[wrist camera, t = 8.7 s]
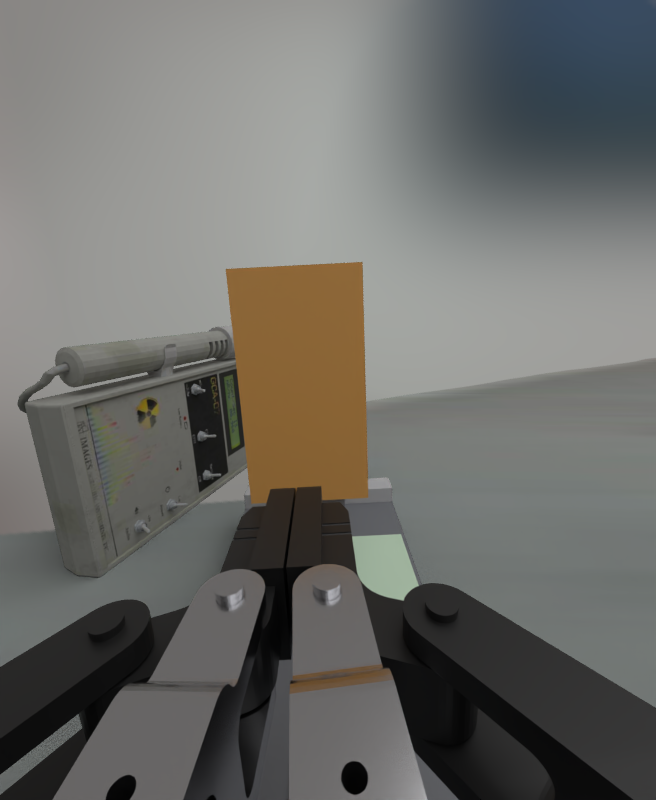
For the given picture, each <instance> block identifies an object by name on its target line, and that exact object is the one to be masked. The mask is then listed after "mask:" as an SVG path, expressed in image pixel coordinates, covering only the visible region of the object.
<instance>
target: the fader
mask: <svg viewBox="0 0 656 800" xmlns="http://www.w3.org/2000/svg"><path fill="white" fill-rule="evenodd" d="M226 275H227V284H228V294H229V303H230V312H231V321H232V331H233V340H234V349H235V358H236V367H237V376H238V386H239V395H240V404H241V413H242V422H243V432H244V441H245V450H246V459H247V468H248V477H249V487H250V496H251V504H257V503H267V499H268V496H269V492H270V489H278V488H296V491H297V487H313V486H321V488H322V503H328V502H341V504H342V505H343V506H344V507H345V499H357V498H368V464H367V425H366V387H365V386H366V385H365V347H364V309H363V268H362V262H356V263H335V264H318V265H317V264H316V265H297V266H277V267H257V268H237V269H226Z"/></svg>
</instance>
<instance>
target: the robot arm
mask: <svg viewBox="0 0 656 800" xmlns="http://www.w3.org/2000/svg"><path fill="white" fill-rule="evenodd" d="M233 539H234V540H233V541H232V543H231V546H230V549H229V551H228V554H227V557H226V559H225V562H224V564H223V567H222V570H221V572H220V574H217V575H215V576H213V577H212V578H210V579H209V580H207V581H206V582H205V583H204V584H203V585H202V586H201V587H200V588H199V590H198V591H197V593H196V595H195V597H194V598H193V600H192V602H191V604H190V605H189V606H187V607H185V608H182V609H179V610H176V611H173V612H170V613H167V614H163V615H160V616H157V617H153V618H151V617H150V611H149V609H148V607H147V606H146V604H144V603H143V602H141V601H138V600H121V601H116V602H112V603H109V604H107V605H104V606H102V607H100V608H98V609H96V610H94V611H92V612H91V613H89V614H87V615H86V616H84V617H82V618H81V619H79V620H77V621H76V622H74V623H72V624H71V625H69V626H67V627H66V628H64V629H62V630H61V631H59V632H57V633H56V634H54V635H52V636H51V637H49V638H48V639H46V640H44V641H43V642H41V643H39V644H38V645H36V646H34V647H33V648H31V649H29V650H28V651H26V652H24V653H23V654H21V655H19V656H18V657H16V658H14V659H13V660H11V661H9V662H8V663H6V664H4V665H3V666H1V667H0V774H2V773H3V772H4V771H5V770H7V769H8V768H9V767H10V766H12V765H13V764H14V763H16V762H17V761H18V760H19V759H21V758H22V757H23V756H25V755H26V754H27V753H28V752H30V751H31V750H32V749H34V748H35V747H36V746H37V745H39V744H40V743H41V742H43V741H44V740H45V739H46V738H48V737H49V736H50V735H52V734H53V733H54V732H55V731H57V730H58V729H59V728H61V727H62V726H63V725H64V724H66V723H67V722H68V721H70V720H71V719H72V718H73V717H75V716H76V715H77V714H79V717H80V721H81V724H82V729H81V730H80V731H78V732H77V733H76V734H75V735H74V736H72V737H71V738H70V739H69V740H67V741H66V742H65V743H64V744H62V745H61V746H60V747H59V748H58V749H56V750H55V751H54V752H53V753H51V754H50V755H49V756H48V757H46V758H45V759H44V760H43V761H42V762H40V763H39V764H38V765H37V766H35V767H34V768H33V769H32V770H30V771H29V772H28V773H27V774H26V775H24V776H23V777H22V778H21V779H19V780H18V781H17V782H16V783H14V784H13V785H12V786H11V787H10V788H8V789H7V790H6V791H5V792H3V793H2V794H1V795H0V800H258V794H259V789H260V783H261V778H262V773H263V767H264V762H265V757H266V751H267V746H268V740H269V735H270V730H271V724H272V719H273V714H274V708H275V703H276V685H275V684H276V681H277V675H278V666H279V660H291V658H292V646H293V680H291V681H290V701H289V800H427V796H426V793H425V789H424V786H423V782H422V779H421V775H420V771H419V768H418V764H417V761H416V757H415V753H416V754H417V755H418V756H419V757H420V758H421V759H422V760H423V761H424V763H425V764H426V765H427V766H428V767H429V768H430V769H431V770H432V771H433V772H434V773H435V774H436V776H437V777H438V778H439V779H440V780H441V781H442V782H443V783H444V784H445V785H446V786H447V788H448V789H449V790H450V791H451V792H452V793H453V794H454V795H455V796H456V797H457V798H458V799H459V800H656V708H655V707H653V706H652V705H650V704H648V703H647V702H645V701H643V700H642V699H640V698H638V697H637V696H635V695H633V694H632V693H630V692H628V691H627V690H625V689H623V688H622V687H620V686H618V685H617V684H615V683H613V682H612V681H610V680H608V679H607V678H605V677H604V676H602V675H600V674H599V673H597V672H595V671H594V670H592V669H590V668H589V667H587V666H585V665H584V664H582V663H580V662H579V661H577V660H575V659H574V658H572V657H570V656H569V655H567V654H565V653H564V652H562V651H560V650H559V649H557V648H555V647H554V646H552V645H550V644H549V643H547V642H545V641H544V640H542V639H540V638H539V637H537V636H535V635H534V634H532V633H530V632H529V631H527V630H526V629H524V628H522V627H521V626H519V625H517V624H516V623H514V622H512V621H511V620H509V619H507V618H506V617H504V616H502V615H501V614H499V613H497V612H496V611H494V610H492V609H491V608H489V607H487V606H486V605H484V604H482V603H481V602H479V601H477V600H476V599H474V598H472V597H471V596H469V595H467V594H466V593H464V592H462V591H460V590H459V589H457V588H454V587H452V586H448V585H444V584H438V583H430V584H423V585H419V586H417V587H415V588H413V589H412V590H410V591H409V592H408V593H407V595H406V596H405V598H404V601H403V600H398V599H393V598H389V597H385V596H382V595H379V594H377V593H375V592H373V591H371V590H370V589H369V588H367V587H366V586H365V585H364V584H363V583H362V582H361V580H360V578H359V576H358V573H357V568H356V561H355V554H354V547H353V540H352V534H351V526H350V519H349V511H348V510H347V509H346V508H345V507H344V506H343V505H342V504H341V502H328V503H322V488H321V486H313V487H297V491H296V488H278V489H270V492H269V496H268V499H267V503H266V506H258V507H252V508H251V509H250V510H249V511H248V512H246V513H245V514H244V515H243V516H242V517H241V520H240V523H239V525H238V528H237V531H236V533H235V536H234V538H233ZM414 751H415V753H414Z"/></svg>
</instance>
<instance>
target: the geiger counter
mask: <svg viewBox="0 0 656 800" xmlns="http://www.w3.org/2000/svg"><path fill="white" fill-rule="evenodd" d="M209 358H216V360H212V361H208V362H203V363H199V364H194V365H189V366H185V367H180V368H176V369H173V367H174V366H177V365H181V364H186V363H191V362H195V361H200V360H204V359H209ZM55 364H56V366H55V367H53V368H51V369H50V370H48V371H47V372H45V373H44V374H43V376H42V378H41V379H40V381H39V382H37V383H36V384H35V385H33V386H32V387H30V388H28V389H26V390H25V391H24V392H23V393H22V394H21V395H20V397H19V400H18V407H19V409H20V410H21V411H23V412H25V413H27V417H28V420H29V424H30V428H31V432H32V437H33V441H34V445H35V448H36V453H37V457H38V461H39V465H40V469H41V473H42V477H43V481H44V485H45V489H46V493H47V497H48V501H49V505H50V509H51V513H52V518H53V522H54V525H55V530H56V534H57V538H58V542H59V546H60V550H61V554H62V558H63V562H64V566H65V568H67V569H68V570H70V571H71V572H73V573H74V574H76V575H77V576H89V577H101V576H103V575H104V574H105V573H107V572H108V571H109V570H111V569H112V568H113V567H115V566H116V565H117V564H119V563H120V562H121V561H123V560H124V559H125V558H127V557H128V556H129V555H131V554H132V553H133V552H135V551H136V550H137V549H139V548H140V547H141V546H143V545H144V544H145V543H147V542H148V541H149V540H151V539H152V538H153V537H155V536H156V535H157V534H159V533H160V532H161V531H163V530H164V529H165V528H167V527H168V526H169V525H171V524H172V523H173V522H175V521H176V520H177V519H179V518H180V517H181V516H183V515H184V514H185V513H187V512H188V511H189V510H191V509H192V508H194V507H195V506H196V505H198V504H199V503H200V502H202V501H203V500H204V499H206V498H207V497H208V496H210V495H211V494H212V493H214V492H215V491H216V490H218V489H219V488H220V487H222V486H223V485H224V484H226V483H227V482H228V481H230V480H231V479H232V478H234V477H235V476H236V475H238V474H239V473H240V472H242V471H243V470H244V469H246V468H247V459H246V450H245V441H244V432H243V422H242V413H241V404H240V395H239V386H238V376H237V367H236V358H235V349H234V340H233V331H232V326H223V327H215V328H212V329H211V330H209V331H208V332H200V333H192V334H182V335H173V336H164V337H154V338H145V339H136V340H127V341H118V342H109V343H99V344H90V345H82V346H72V347H64V348H61V349H60V350H59V351H58V352H57V355H56V359H55ZM144 372H147V373H148V375H145V376H141V377H136V378H131V379H127V380H122V381H118V382H114V383H109V384H105V385H100V386H95V387H91V388H87V389H82V390H78V391H73V392H69V393H64V394H60V395H55V396H51V397H47V398H42V399H37V400H33V401H29V402H28V399H29V398H30V397H31V396H32V394H34V393H35V392H37V391H39V390H41V389H43V387H45V386H46V385H48V384H49V383H50V382H51V381H52V379H53V378H54V377H55V376H56V375H59V376H60V378H61V379H62V380H63V382H64V383H66V384H67V385H68V386H71V387H78V386H82V385H88V384H92V383H97V382H102V381H106V380H111V379H115V378H120V377H125V376H130V375H134V374H139V373H144Z"/></svg>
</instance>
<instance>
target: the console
mask: <svg viewBox="0 0 656 800" xmlns="http://www.w3.org/2000/svg"><path fill="white" fill-rule="evenodd" d="M244 498H245V507H246V509H245V512H244V514H245V513H246V512H248V511H249V510H250V509H251V508H252V507H258V506H266V503H257V504H251V496H250V487H249V485H248V488H247V490H246V492H245V495H244ZM345 508H346V509H347V510H348V511H349V519H350V526H351V534H352V540H353V547H354V554H355V561H356V568H357V573H358V576H359V578H360V580H361V582H362V583H363V584H364V585H365V586H366V587H367V588H369V589H370V590H371V591H373V592H375V593H377V594H379V595H382V596H385V597H389V598H393V599H398V600H403V601H404V598H405V596H406V595H407V593H408V592H409V591H410V590H412V589H413V588H415V587H417V586H419V585H422V583H421V581H420V578H419V575H418V572H417V569H416V567H415V564H414V561H413V558H412V555H411V553H410V550H409V547H408V544H407V541H406V539H405V536H404V533H403V530H402V527H401V525H400V522H399V519H398V516H397V514H396V511H395V508H394V505H393V502H392V487H391V484H390V481H389V479H388V478H369V479H368V498H357V499H345ZM244 514H243V515H244ZM291 680H293V646H292V658H291V660H279V666H278V675H277V681H276V684H275V685H276V703H275V708H274V714H273V719H272V724H271V730H270V735H269V740H268V746H267V751H266V757H265V762H264V767H263V773H262V778H261V783H260V789H259V794H258V800H289V701H290V681H291ZM414 753H415V751H414ZM415 757H416V761H417V764H418V768H419V771H420V775H421V779H422V782H423V786H424V789H425V793H426V796H427V800H459V799H458V798H457V797H456V796H455V795H454V794H453V793H452V792H451V791H450V790H449V789H448V788H447V786H446V785H445V784H444V783H443V782H442V781H441V780H440V779H439V778H438V777H437V776H436V774H435V773H434V772H433V771H432V770H431V769H430V768H429V767H428V766H427V765H426V764H425V763H424V761H423V760H422V759H421V758H420V757H419V756H418V755H417V754H416V753H415Z"/></svg>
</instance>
